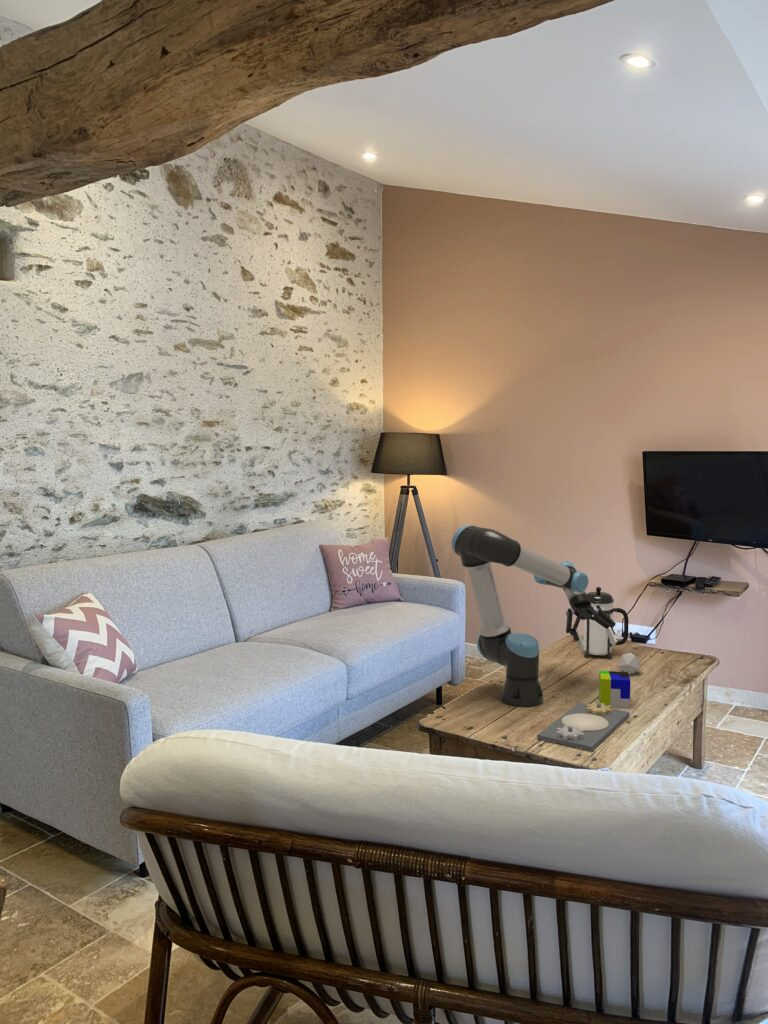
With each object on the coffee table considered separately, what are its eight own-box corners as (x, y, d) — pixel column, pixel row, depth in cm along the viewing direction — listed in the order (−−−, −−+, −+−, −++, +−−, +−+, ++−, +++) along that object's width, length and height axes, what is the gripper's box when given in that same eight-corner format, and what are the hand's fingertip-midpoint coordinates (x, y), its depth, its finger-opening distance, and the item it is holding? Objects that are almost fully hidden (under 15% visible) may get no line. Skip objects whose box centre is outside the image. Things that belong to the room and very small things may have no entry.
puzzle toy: (629, 708, 288) (630, 680, 287) (600, 706, 290) (601, 679, 289) (627, 698, 298) (627, 672, 297) (599, 697, 300) (599, 670, 299)
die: (629, 670, 334) (615, 652, 333) (647, 663, 328) (633, 645, 327) (625, 682, 327) (611, 664, 326) (643, 675, 322) (629, 657, 321)
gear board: (591, 751, 250) (592, 738, 250) (537, 739, 260) (537, 726, 260) (629, 716, 280) (629, 704, 279) (578, 706, 290) (579, 695, 289)
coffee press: (598, 662, 342) (599, 592, 339) (572, 653, 356) (573, 585, 353) (628, 656, 350) (630, 587, 347) (602, 648, 364) (603, 581, 361)
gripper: (602, 600, 322) (623, 647, 310) (545, 606, 315) (565, 654, 302) (609, 589, 317) (632, 637, 304) (552, 595, 309) (573, 644, 297)
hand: (599, 645), depth 303 cm, fingers open, 13 cm apart
